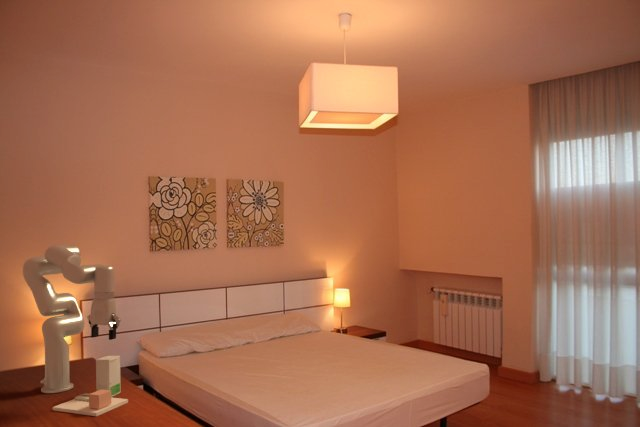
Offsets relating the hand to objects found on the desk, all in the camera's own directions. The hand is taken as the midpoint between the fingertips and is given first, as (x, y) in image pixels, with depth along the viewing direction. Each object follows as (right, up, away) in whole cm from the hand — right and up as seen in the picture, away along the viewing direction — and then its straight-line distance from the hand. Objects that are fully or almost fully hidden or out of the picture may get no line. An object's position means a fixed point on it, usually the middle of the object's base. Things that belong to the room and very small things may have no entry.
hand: (103, 338), depth 208 cm
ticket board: (0, -24, -10) cm, 26 cm away
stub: (+5, -22, -15) cm, 27 cm away
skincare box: (+1, -25, +3) cm, 25 cm away
